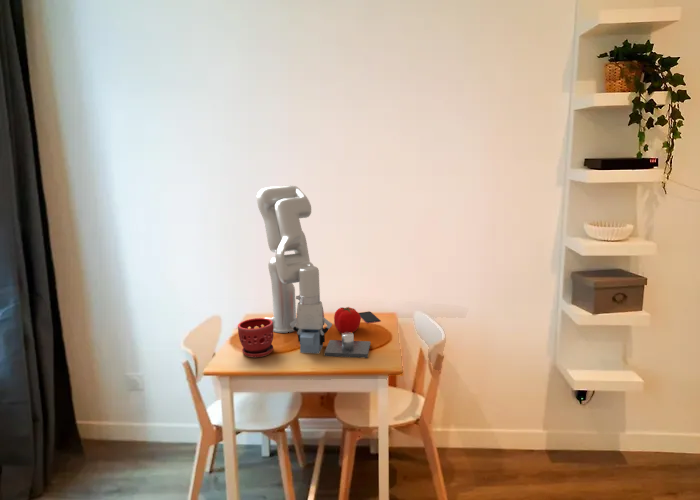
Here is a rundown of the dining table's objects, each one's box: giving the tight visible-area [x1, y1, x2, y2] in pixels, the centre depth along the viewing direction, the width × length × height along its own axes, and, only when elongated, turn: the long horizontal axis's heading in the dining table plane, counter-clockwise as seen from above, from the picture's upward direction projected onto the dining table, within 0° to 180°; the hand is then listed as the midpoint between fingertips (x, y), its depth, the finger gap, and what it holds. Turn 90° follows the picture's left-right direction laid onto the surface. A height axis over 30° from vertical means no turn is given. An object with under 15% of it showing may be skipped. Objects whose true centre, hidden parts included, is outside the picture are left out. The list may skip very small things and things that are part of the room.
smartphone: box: [358, 311, 382, 324], centre depth 229 cm, size 7×1×14 cm
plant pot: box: [237, 317, 274, 358], centre depth 192 cm, size 13×13×12 cm
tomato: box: [333, 306, 362, 334], centre depth 212 cm, size 11×13×10 cm
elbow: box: [299, 329, 324, 354], centre depth 193 cm, size 7×12×8 cm, turn 172°
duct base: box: [323, 332, 372, 359], centre depth 193 cm, size 16×12×6 cm
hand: (311, 343), depth 195 cm, fingers closed on elbow, 7 cm apart
